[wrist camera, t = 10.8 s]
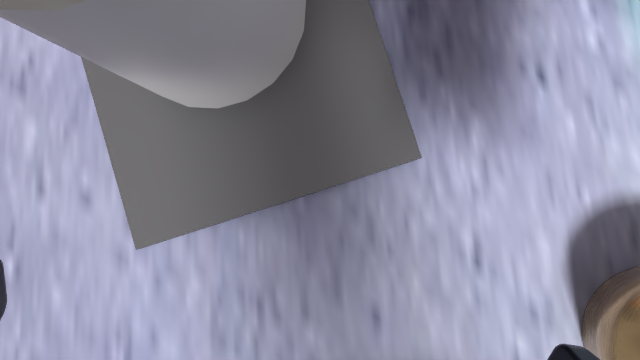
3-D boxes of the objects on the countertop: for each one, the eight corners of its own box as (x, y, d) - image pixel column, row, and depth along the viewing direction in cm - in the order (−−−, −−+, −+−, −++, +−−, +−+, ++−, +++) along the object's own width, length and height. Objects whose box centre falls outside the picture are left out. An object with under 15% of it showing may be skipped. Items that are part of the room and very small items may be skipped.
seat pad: (420, 158, 18) (421, 157, 18) (140, 248, 20) (135, 249, 19) (312, -163, 20) (311, -171, 19) (52, -60, 21) (46, -65, 20)
